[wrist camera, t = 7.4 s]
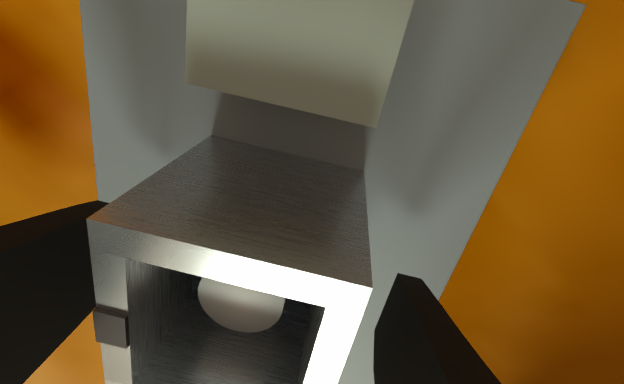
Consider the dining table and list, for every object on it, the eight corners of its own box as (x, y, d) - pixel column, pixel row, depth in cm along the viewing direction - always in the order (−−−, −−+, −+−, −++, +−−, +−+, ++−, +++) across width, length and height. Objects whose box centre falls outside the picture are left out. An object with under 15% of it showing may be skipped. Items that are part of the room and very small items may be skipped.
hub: (329, 289, 12) (312, 454, 7) (202, 258, 12) (103, 401, 7) (364, 171, 10) (373, 292, 5) (211, 135, 10) (81, 221, 5)
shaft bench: (383, 383, 15) (394, 514, 11) (125, 319, 15) (40, 423, 11) (561, 8, 8) (761, -22, 4) (99, -96, 8) (-136, -220, 4)
